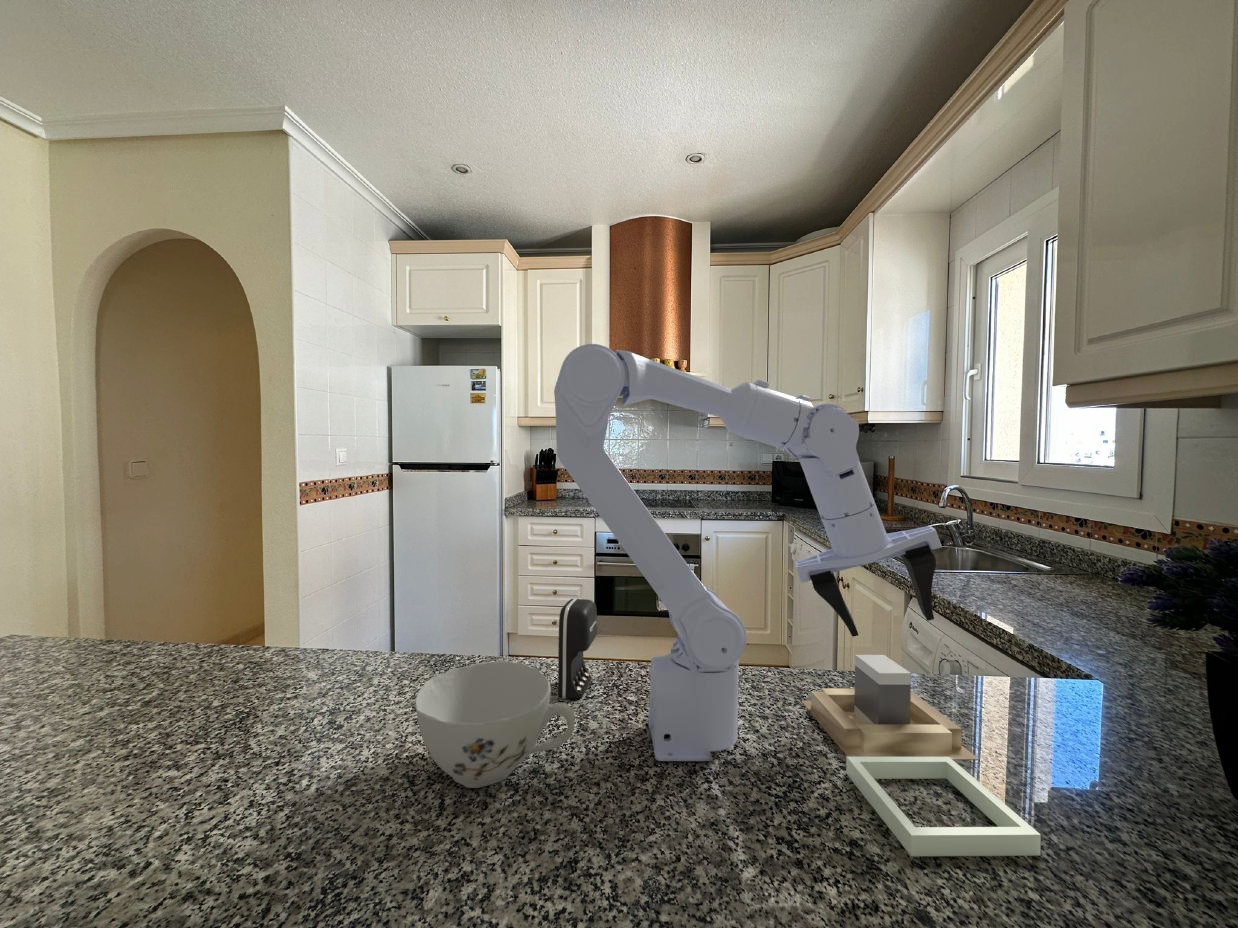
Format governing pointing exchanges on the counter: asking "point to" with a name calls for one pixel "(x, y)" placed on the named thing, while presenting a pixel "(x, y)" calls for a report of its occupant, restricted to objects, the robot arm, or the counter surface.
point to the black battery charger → (575, 646)
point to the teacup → (487, 719)
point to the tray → (943, 841)
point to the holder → (887, 729)
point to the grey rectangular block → (881, 691)
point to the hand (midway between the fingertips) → (890, 624)
